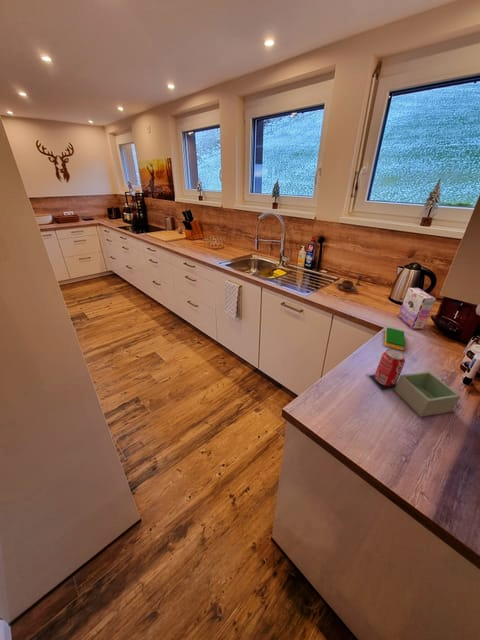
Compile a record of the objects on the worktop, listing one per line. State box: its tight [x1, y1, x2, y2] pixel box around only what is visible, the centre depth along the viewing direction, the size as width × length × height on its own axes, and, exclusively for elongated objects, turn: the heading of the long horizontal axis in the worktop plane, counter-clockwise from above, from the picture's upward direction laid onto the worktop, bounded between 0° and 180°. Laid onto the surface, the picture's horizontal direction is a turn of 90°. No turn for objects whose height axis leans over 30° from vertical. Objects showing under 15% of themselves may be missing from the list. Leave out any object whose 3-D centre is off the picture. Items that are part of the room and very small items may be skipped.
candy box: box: [397, 287, 437, 330], centre depth 129 cm, size 14×6×16 cm, turn 179°
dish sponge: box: [384, 327, 406, 351], centre depth 117 cm, size 7×14×2 cm, turn 152°
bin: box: [393, 370, 462, 417], centre depth 85 cm, size 12×12×7 cm
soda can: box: [374, 348, 406, 386], centre depth 90 cm, size 7×7×12 cm
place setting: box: [334, 275, 362, 295], centre depth 170 cm, size 18×20×6 cm
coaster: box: [368, 374, 397, 391], centre depth 93 cm, size 7×7×1 cm
